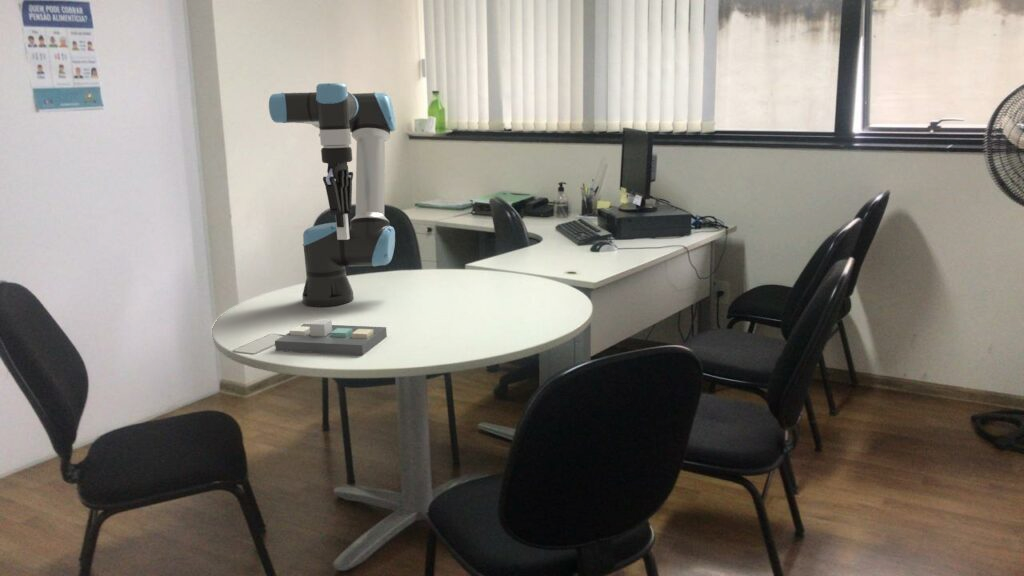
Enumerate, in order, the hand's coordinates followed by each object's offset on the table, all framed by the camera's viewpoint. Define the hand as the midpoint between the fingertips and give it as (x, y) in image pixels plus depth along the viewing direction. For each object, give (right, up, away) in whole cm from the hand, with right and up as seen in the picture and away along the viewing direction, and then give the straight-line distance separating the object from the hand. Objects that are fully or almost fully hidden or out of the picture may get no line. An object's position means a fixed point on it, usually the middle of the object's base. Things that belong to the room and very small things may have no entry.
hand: (343, 239), depth 205 cm
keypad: (-2, -27, -6) cm, 27 cm away
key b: (-4, -24, -6) cm, 25 cm away
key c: (+1, -26, -6) cm, 27 cm away
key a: (-10, -26, -4) cm, 28 cm away
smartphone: (-19, -27, -4) cm, 34 cm away
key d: (+7, -26, -8) cm, 28 cm away
